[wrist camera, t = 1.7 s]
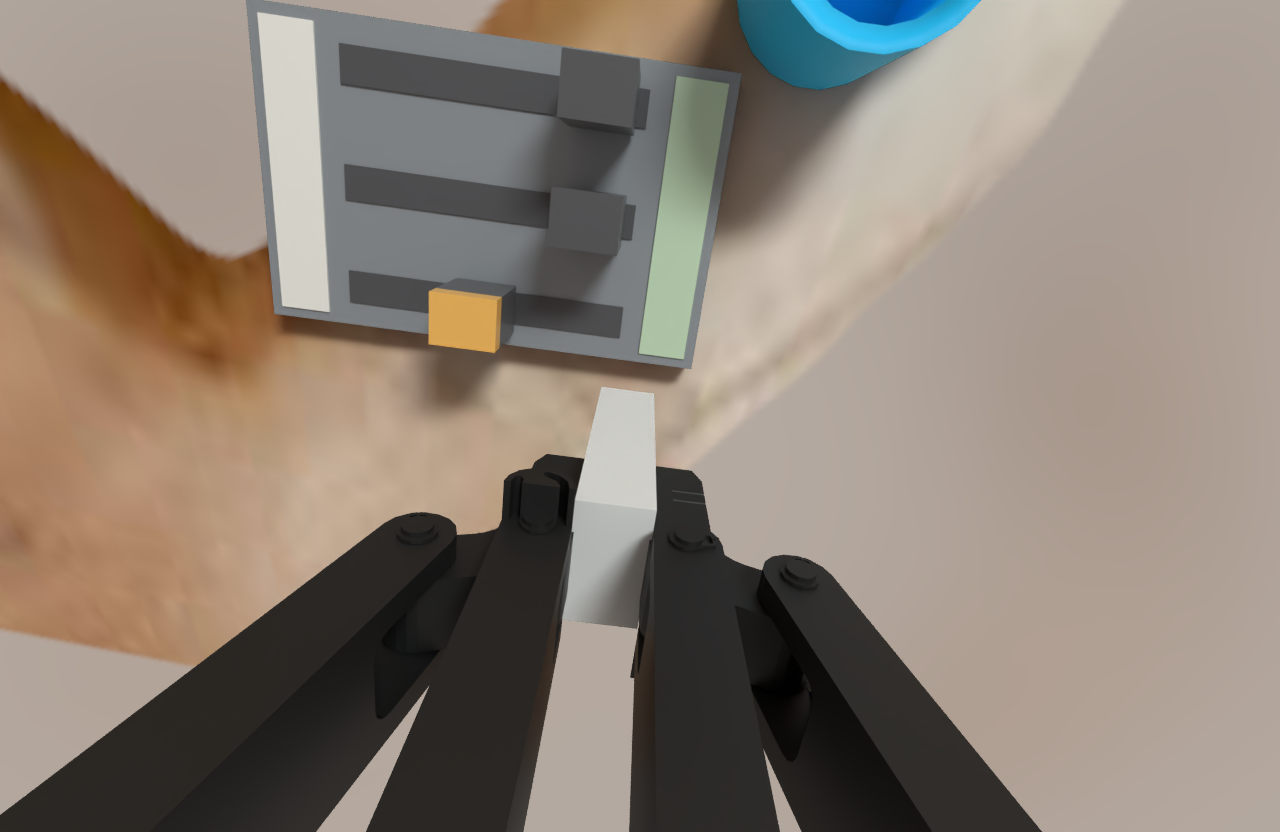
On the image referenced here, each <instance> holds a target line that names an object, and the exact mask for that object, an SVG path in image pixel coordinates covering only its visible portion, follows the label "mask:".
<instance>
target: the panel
mask: <svg viewBox="0 0 1280 832" xmlns="http://www.w3.org/2000/svg"><path fill="white" fill-rule="evenodd" d="M246 5H247V16H248V27H249V38H250V49H251V60H252V71H253V82H254V93H255V104H256V115H257V126H258V137H259V148H260V159H261V170H262V182H263V192H264V204H265V214H266V226H267V237H268V248H269V259H270V270H271V281H272V292H273V303H274V314H280V315H287V316H295V317H302V318H310V319H317V320H325V321H333V322H340V323H348V324H355V325H363V326H370V327H378V328H385V329H393V330H400V331H408V332H415V333H423V334H429V291H430V290H433V289H435V288H437V287H439V286H441V285H443V284H445V283H447V282H449V281H451V280H453V279H455V278H462V279H469V280H477V281H484V282H491V283H499V284H506V285H513V286H516V300H515V318H514V332H513V333H512V335H511V336H510V337H509V338H508V339H507V340H506V341H505V342H504V343H503V344H506V345H513V346H521V347H529V348H536V349H544V350H551V351H559V352H566V353H574V354H581V355H589V356H596V357H604V358H612V359H619V360H627V361H634V362H642V363H649V364H657V365H664V366H672V367H679V368H687V369H691V367H692V361H693V355H694V349H695V344H696V338H697V332H698V326H699V321H700V315H701V309H702V303H703V297H704V292H705V286H706V280H707V274H708V268H709V263H710V257H711V251H712V245H713V239H714V234H715V228H716V222H717V216H718V211H719V205H720V199H721V193H722V187H723V182H724V176H725V170H726V164H727V158H728V153H729V147H730V141H731V135H732V129H733V124H734V118H735V112H736V106H737V100H738V95H739V89H740V83H741V77H742V73H736V72H730V71H723V70H717V69H710V68H704V67H697V66H691V65H684V64H678V63H671V62H664V61H658V60H651V59H645V58H638V57H632V56H625V55H619V54H612V53H605V52H599V51H592V50H586V49H579V48H573V47H566V46H560V45H553V44H547V43H540V42H533V41H527V40H520V39H514V38H507V37H501V36H494V35H488V34H481V33H475V32H468V31H461V30H455V29H448V28H442V27H435V26H429V25H422V24H416V23H409V22H402V21H396V20H389V19H382V18H375V17H370V16H363V15H357V14H350V13H343V12H337V11H331V10H324V9H317V8H311V7H304V6H298V5H291V4H284V3H278V2H271V1H264V0H246ZM562 47H565V48H571V49H578V50H584V51H591V52H597V53H604V54H610V55H617V56H624V57H630V58H637V59H640V72H641V80H640V88H639V97H638V105H637V114H636V122H635V131H634V136H631V135H624V134H617V133H611V132H604V131H597V130H590V129H584V128H577V127H570V126H568V125H567V124H566V123H564V122H563V121H562V120H560V119H559V118H558V117H557V106H558V92H559V79H560V65H561V52H562ZM551 186H565V187H572V188H579V189H586V190H593V191H600V192H607V193H614V194H621V195H627V198H626V207H625V215H624V223H623V232H622V240H621V247H620V250H619V252H618V254H617V256H613V255H606V254H599V253H591V252H584V251H577V250H570V249H563V248H556V247H548V246H547V240H548V226H549V213H550V199H551Z"/></svg>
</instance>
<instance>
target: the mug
mask: <svg viewBox="0 0 1280 832" xmlns="http://www.w3.org/2000/svg"><path fill="white" fill-rule="evenodd" d="M980 1H981V0H737V4H738V12H739V21H740V26H741V28H742V31H743V33H744V35H745V38H746V40H747V42H748V45H749V47H750V49H751V52H752V53H753V54H754V55H755V57H756V58H757V59H758V60H759V61H760V62H761V63H762V65H763V66H764V67H765V68H766V69H767V70H768V71H769V72H770V74H772V75H774V76H776V77H778V78H780V79H781V80H783V81H785V82H787V83H789V84H791V85H792V86H796V87H803V88H810V89H818V90H822V89H826V88H831V87H835V86H840V85H844V84H848V83H850V82H852V81H854V80H856V79H858V78H860V77H862V76H864V75H866V74H868V73H870V72H872V71H874V70H876V69H878V68H880V67H882V66H884V65H886V64H888V63H890V62H892V61H894V60H896V59H897V58H899V57H901V56H903V55H905V54H907V53H909V52H911V51H913V50H915V49H917V48H919V47H921V46H923V45H925V44H926V43H928V42H930V41H931V40H933V39H935V38H937V37H938V36H940V35H942V34H943V33H945V32H947V31H948V30H950V29H952V28H953V27H955V26H957V25H958V24H959V23H960V22H961V21H962V20H963V19H964V18H965V17H966V16H967V15H968V13H969V12H970V11H971V10H972V9H973V8H974V7H975V6H976V5H977V4H978V3H979V2H980Z"/></svg>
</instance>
